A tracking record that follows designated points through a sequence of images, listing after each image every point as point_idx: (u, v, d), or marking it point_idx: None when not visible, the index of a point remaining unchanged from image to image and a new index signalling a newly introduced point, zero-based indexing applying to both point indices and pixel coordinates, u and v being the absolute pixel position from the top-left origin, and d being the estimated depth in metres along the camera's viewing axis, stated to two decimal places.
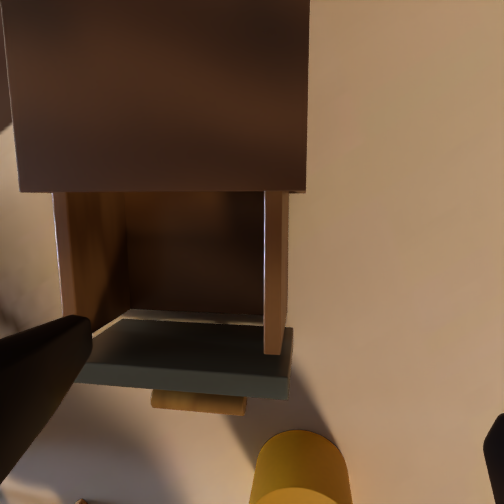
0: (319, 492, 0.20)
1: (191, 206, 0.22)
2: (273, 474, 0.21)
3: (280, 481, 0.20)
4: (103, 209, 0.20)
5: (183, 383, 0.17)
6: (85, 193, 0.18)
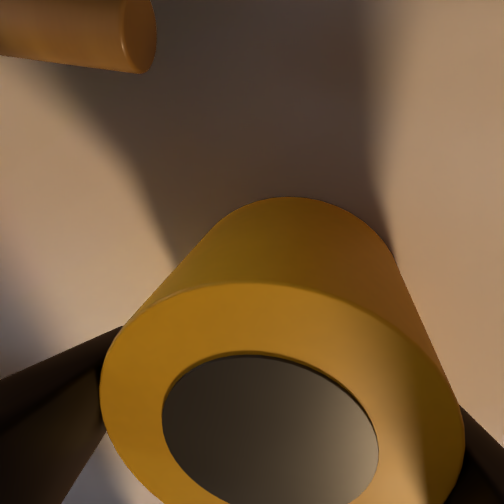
0: (367, 311, 0.05)
1: None
2: (207, 257, 0.06)
3: (222, 268, 0.06)
4: None
5: None
6: None
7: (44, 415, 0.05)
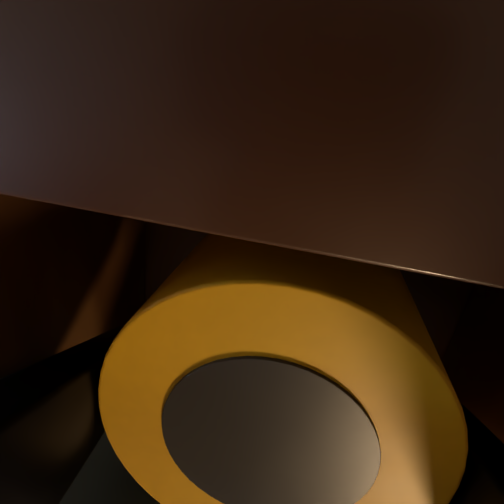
0: (369, 312, 0.05)
1: None
2: (207, 257, 0.06)
3: (223, 268, 0.06)
4: None
5: None
6: None
7: (42, 414, 0.05)
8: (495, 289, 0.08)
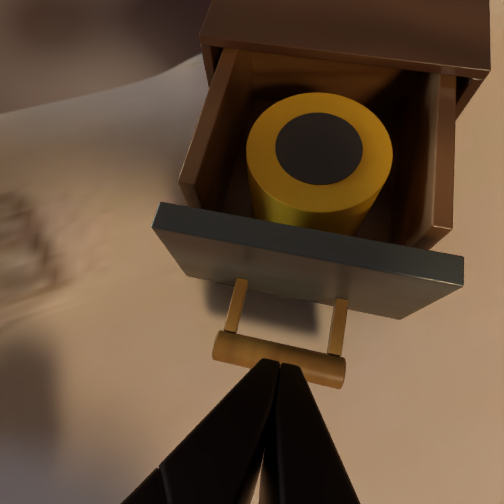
0: None
1: None
2: None
3: None
4: (237, 113, 0.20)
5: (321, 247, 0.13)
6: (239, 79, 0.18)
7: (250, 470, 0.05)
8: (400, 178, 0.19)
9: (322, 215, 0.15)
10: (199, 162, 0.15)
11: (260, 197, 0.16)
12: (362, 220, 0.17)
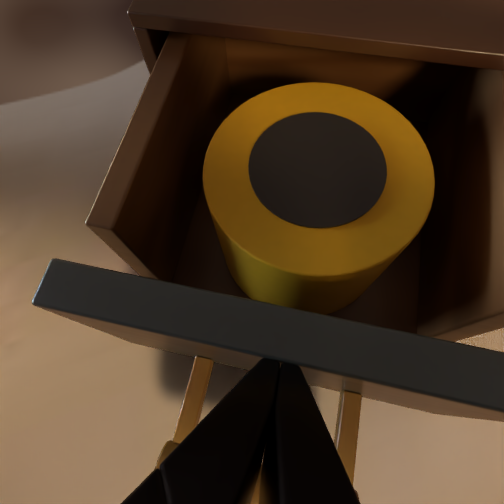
0: (365, 92, 0.11)
1: None
2: None
3: None
4: (203, 115, 0.14)
5: (322, 346, 0.07)
6: (203, 65, 0.13)
7: (250, 471, 0.05)
8: (431, 206, 0.14)
9: (323, 279, 0.09)
10: (123, 191, 0.09)
11: (226, 243, 0.10)
12: None
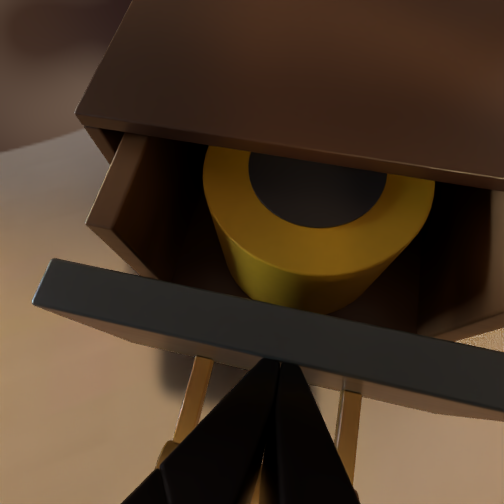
0: None
1: None
2: None
3: None
4: None
5: (321, 346, 0.07)
6: None
7: (250, 471, 0.05)
8: (432, 206, 0.14)
9: (323, 278, 0.09)
10: (122, 191, 0.09)
11: (225, 243, 0.10)
12: None
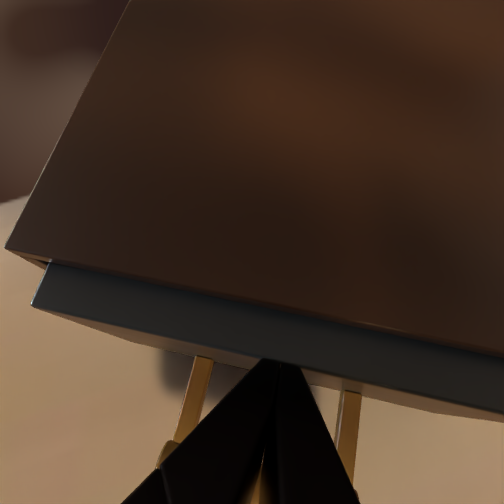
0: None
1: None
2: None
3: None
4: None
5: (322, 348, 0.07)
6: None
7: (250, 471, 0.05)
8: None
9: None
10: None
11: None
12: None
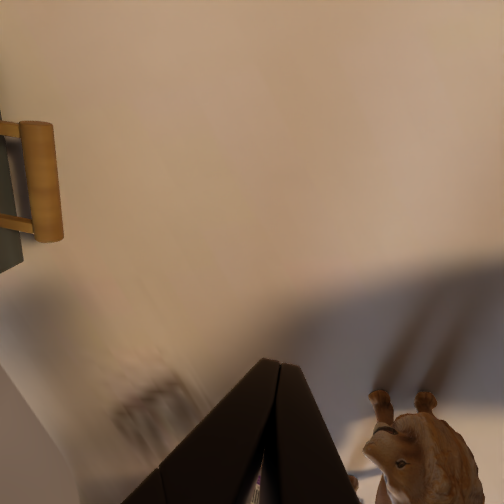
0: None
1: None
2: None
3: None
4: None
5: None
6: None
7: (250, 470, 0.05)
8: None
9: None
10: None
11: None
12: None
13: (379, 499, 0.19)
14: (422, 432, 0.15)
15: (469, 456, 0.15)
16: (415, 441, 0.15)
